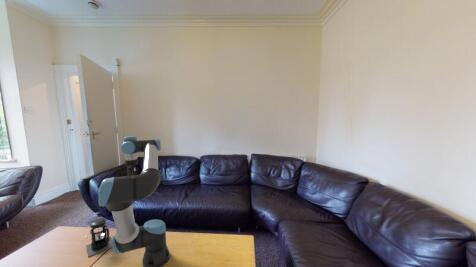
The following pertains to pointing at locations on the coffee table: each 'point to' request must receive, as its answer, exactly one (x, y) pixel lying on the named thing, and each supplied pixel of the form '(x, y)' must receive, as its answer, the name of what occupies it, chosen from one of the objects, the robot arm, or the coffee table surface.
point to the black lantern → (99, 233)
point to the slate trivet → (109, 246)
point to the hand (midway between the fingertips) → (133, 189)
